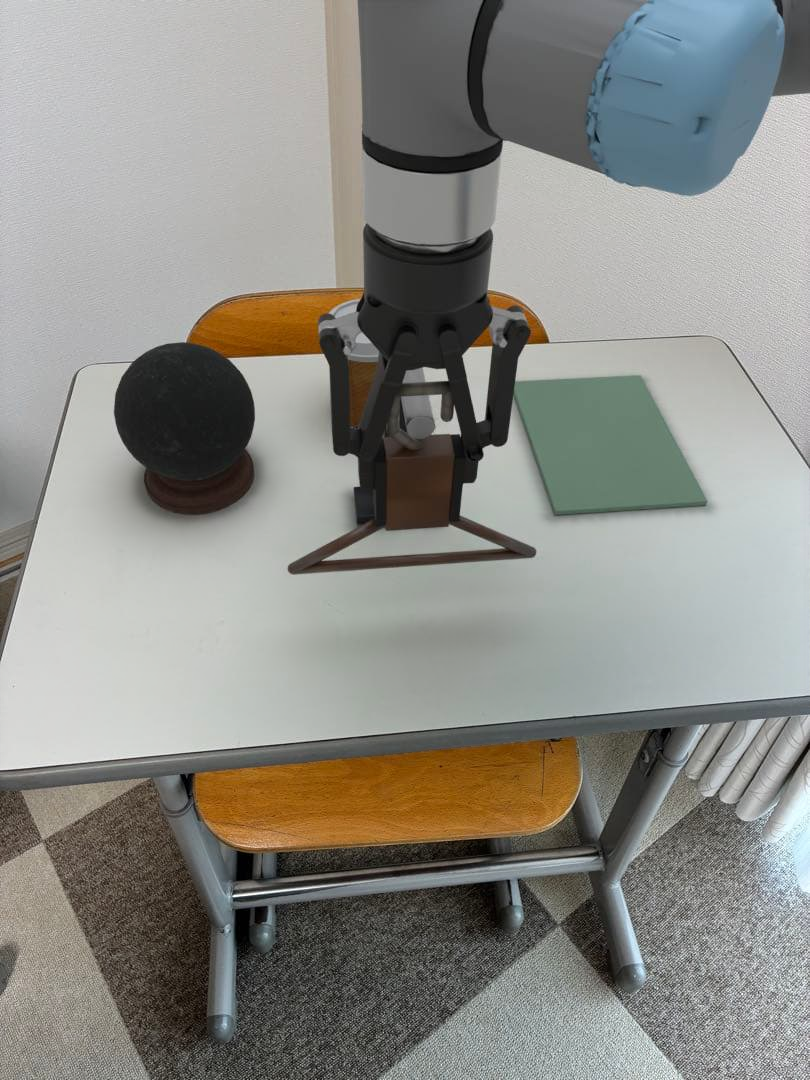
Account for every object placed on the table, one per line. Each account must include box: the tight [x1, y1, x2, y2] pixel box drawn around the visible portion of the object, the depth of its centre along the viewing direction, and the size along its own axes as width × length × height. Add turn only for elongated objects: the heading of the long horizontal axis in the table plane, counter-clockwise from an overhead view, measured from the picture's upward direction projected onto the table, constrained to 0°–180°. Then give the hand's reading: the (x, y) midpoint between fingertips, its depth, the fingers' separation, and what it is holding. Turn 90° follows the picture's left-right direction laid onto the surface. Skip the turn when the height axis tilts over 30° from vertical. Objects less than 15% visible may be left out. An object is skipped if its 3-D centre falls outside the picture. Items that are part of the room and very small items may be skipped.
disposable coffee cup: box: [328, 298, 379, 428], centre depth 87 cm, size 10×10×12 cm
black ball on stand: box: [113, 341, 256, 515], centre depth 78 cm, size 13×13×15 cm
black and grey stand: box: [353, 367, 436, 526], centre depth 68 cm, size 8×17×23 cm, turn 7°
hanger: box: [286, 380, 537, 576], centre depth 60 cm, size 21×2×18 cm, turn 96°
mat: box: [513, 374, 708, 516], centre depth 89 cm, size 22×16×1 cm
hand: (415, 511), depth 62 cm, fingers closed on hanger, 5 cm apart
